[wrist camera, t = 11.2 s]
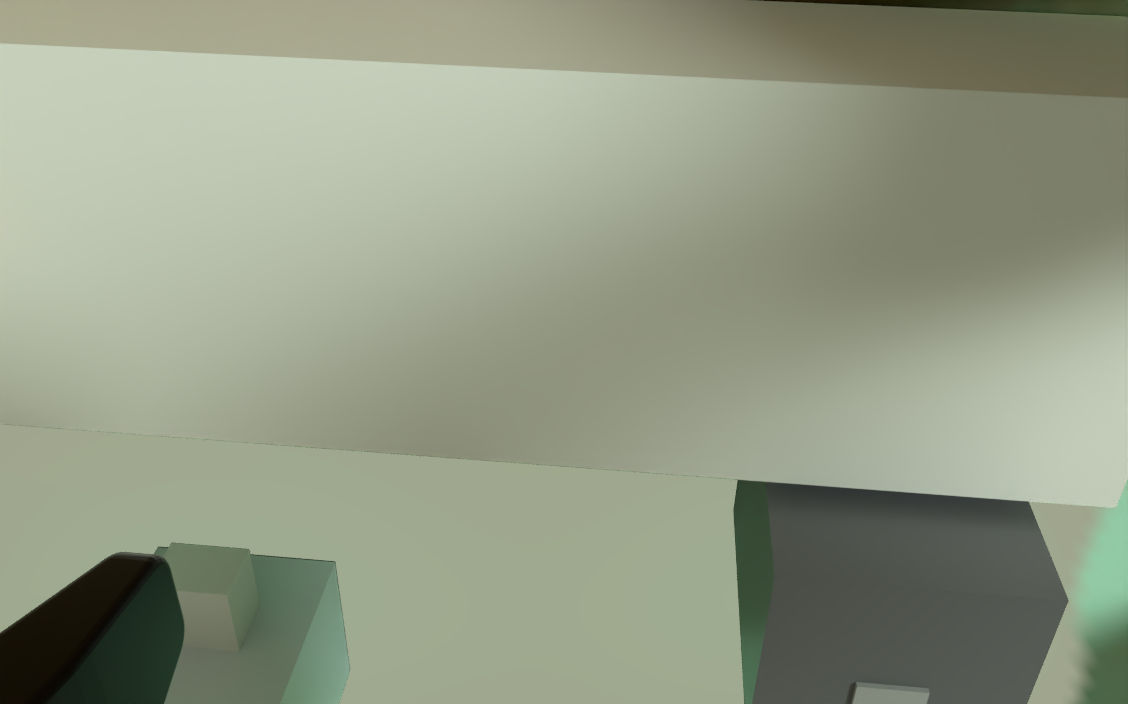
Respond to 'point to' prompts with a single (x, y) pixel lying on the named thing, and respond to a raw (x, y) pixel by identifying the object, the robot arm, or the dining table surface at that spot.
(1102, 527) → the dining table surface
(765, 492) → the block
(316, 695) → the block
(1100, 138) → the power strip
